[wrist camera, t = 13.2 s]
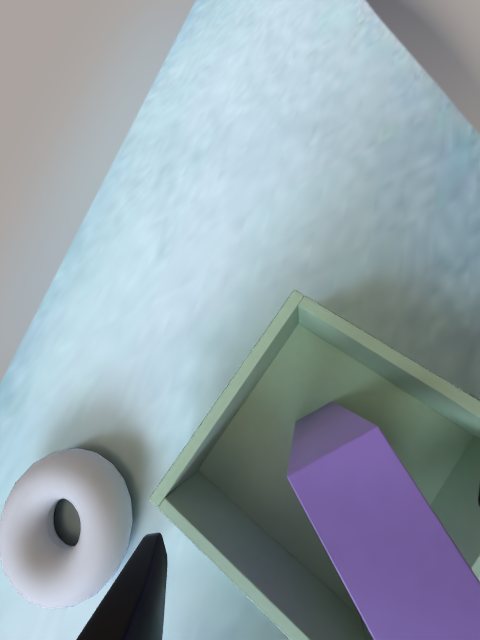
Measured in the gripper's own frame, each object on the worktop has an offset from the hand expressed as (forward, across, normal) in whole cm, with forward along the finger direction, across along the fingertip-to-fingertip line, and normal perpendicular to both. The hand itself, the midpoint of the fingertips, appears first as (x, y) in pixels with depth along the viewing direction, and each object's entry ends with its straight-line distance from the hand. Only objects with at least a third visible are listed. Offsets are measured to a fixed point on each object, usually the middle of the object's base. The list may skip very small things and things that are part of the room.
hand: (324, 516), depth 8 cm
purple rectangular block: (+10, -4, +7) cm, 13 cm away
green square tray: (+11, -4, +7) cm, 14 cm away
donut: (+13, +15, +11) cm, 23 cm away
